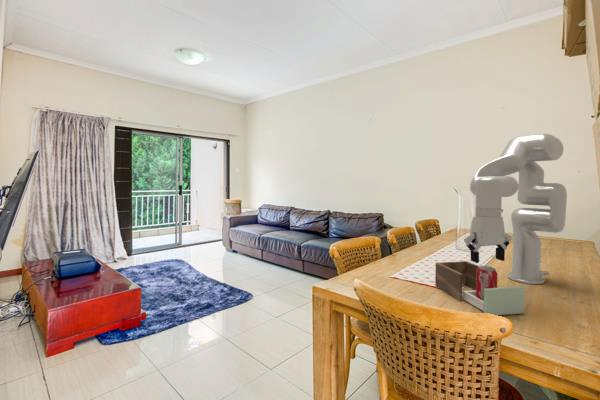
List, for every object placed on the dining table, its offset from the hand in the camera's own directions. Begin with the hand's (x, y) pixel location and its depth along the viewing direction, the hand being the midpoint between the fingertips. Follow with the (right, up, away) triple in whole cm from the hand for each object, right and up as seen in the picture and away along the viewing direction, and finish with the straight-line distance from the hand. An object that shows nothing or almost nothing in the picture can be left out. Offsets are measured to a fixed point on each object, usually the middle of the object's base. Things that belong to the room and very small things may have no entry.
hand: (487, 260), depth 99 cm
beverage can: (0, -15, +1) cm, 15 cm away
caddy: (-2, -15, +12) cm, 19 cm away
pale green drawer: (0, -16, +1) cm, 16 cm away
